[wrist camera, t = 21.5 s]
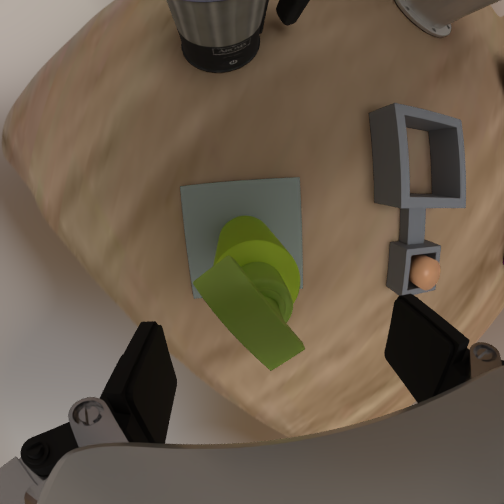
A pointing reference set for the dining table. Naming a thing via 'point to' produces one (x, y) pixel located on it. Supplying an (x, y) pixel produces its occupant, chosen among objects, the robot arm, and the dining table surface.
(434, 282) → the tan ball
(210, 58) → the milk frother
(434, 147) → the holder
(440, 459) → the robot arm
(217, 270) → the soap dispenser
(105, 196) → the dining table surface
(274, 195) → the mat
